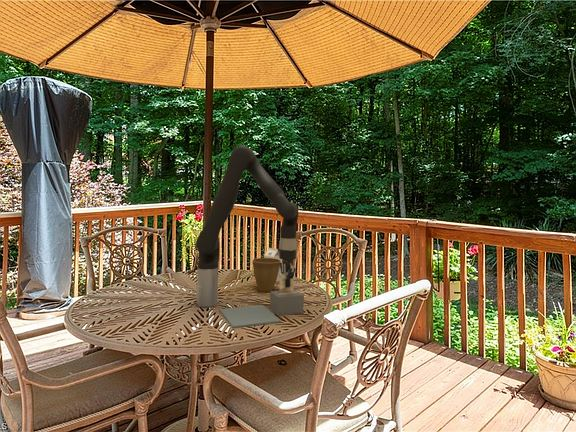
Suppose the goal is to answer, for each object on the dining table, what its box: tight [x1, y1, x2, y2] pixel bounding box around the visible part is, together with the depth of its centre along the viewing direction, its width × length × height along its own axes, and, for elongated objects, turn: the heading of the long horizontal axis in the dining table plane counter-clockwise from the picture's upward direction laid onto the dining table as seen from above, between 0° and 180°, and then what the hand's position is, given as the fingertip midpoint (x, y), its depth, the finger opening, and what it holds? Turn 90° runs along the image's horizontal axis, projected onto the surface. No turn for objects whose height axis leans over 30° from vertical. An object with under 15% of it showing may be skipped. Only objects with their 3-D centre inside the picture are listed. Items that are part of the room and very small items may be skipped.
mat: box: [219, 304, 282, 329], centre depth 172 cm, size 20×22×1 cm
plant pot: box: [251, 257, 282, 293], centre depth 213 cm, size 15×15×16 cm
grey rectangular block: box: [269, 288, 305, 317], centre depth 180 cm, size 12×10×9 cm
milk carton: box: [263, 247, 282, 283], centre depth 233 cm, size 7×7×19 cm
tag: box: [278, 274, 294, 293], centre depth 180 cm, size 6×2×12 cm, turn 113°
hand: (286, 286), depth 180 cm, fingers closed on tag, 1 cm apart
